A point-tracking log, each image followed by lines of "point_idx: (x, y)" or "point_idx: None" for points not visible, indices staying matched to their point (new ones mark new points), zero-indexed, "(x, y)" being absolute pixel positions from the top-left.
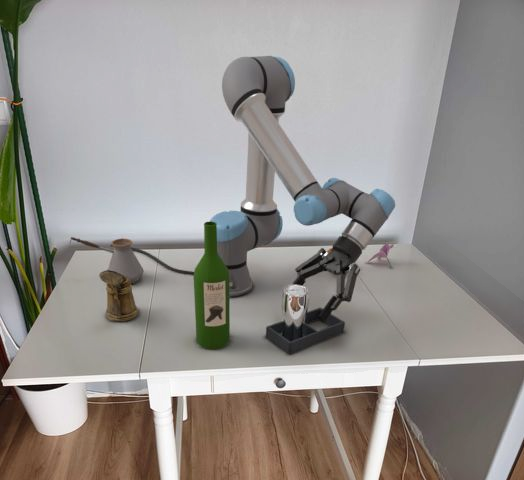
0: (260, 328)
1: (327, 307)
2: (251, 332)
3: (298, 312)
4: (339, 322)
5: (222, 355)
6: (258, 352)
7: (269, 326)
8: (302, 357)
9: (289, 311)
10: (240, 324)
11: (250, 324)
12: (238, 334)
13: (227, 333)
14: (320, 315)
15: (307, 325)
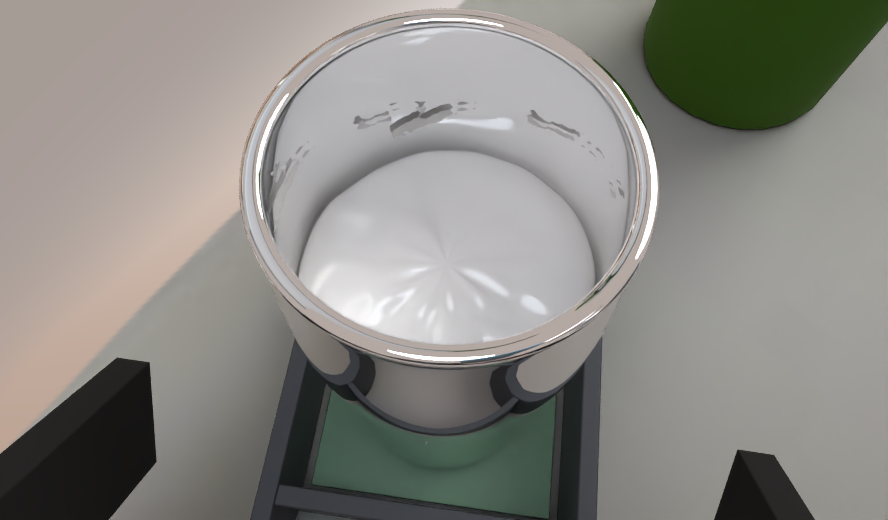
0: (702, 335)
1: (19, 449)
2: (691, 257)
3: (323, 206)
4: None
5: (583, 16)
6: None
7: None
8: (261, 283)
9: (400, 152)
10: (820, 272)
11: (787, 321)
12: (715, 186)
13: (677, 24)
14: (116, 364)
15: (400, 507)
